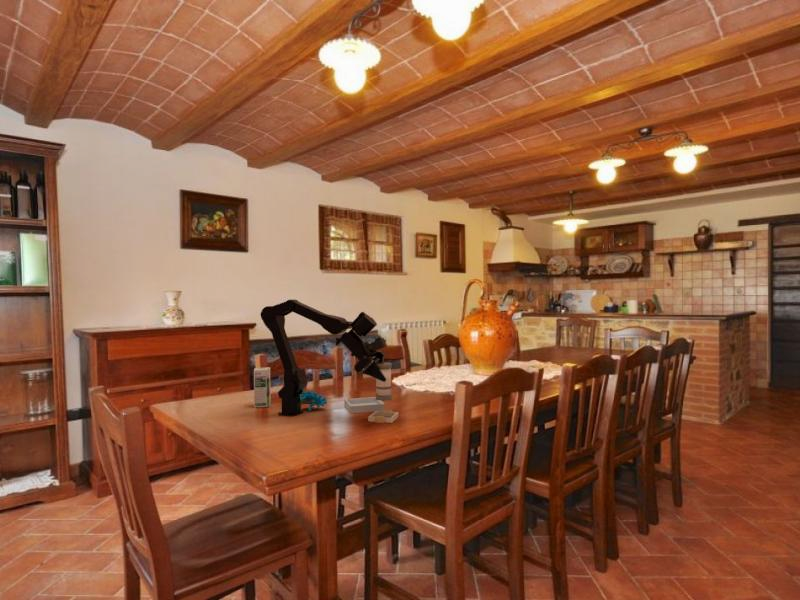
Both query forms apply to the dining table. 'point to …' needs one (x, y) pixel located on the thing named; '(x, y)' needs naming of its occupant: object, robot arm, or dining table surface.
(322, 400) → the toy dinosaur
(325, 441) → the dining table surface
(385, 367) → the fuse
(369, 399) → the parts tray
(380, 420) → the shallow beige tray
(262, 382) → the syrup box
